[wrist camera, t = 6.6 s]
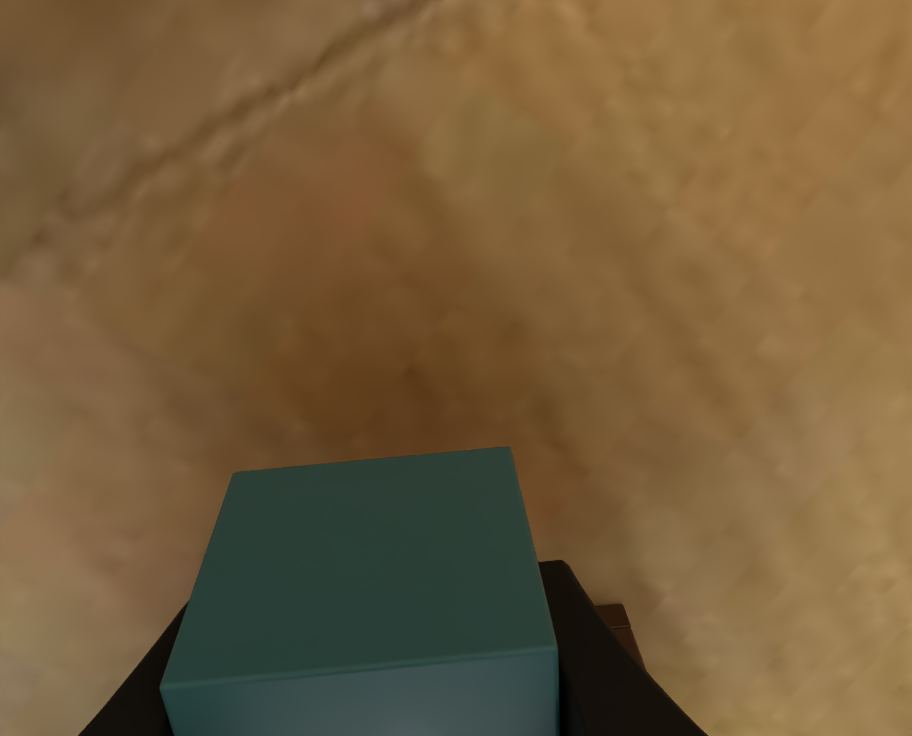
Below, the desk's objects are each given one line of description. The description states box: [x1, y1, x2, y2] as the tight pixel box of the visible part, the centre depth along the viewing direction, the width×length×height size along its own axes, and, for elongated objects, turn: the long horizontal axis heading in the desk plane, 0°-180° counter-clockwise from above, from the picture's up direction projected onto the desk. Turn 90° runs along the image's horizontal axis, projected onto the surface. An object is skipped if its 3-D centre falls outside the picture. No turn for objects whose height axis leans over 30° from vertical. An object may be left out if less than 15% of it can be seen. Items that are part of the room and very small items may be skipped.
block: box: [160, 447, 560, 736], centre depth 12 cm, size 4×4×4 cm
